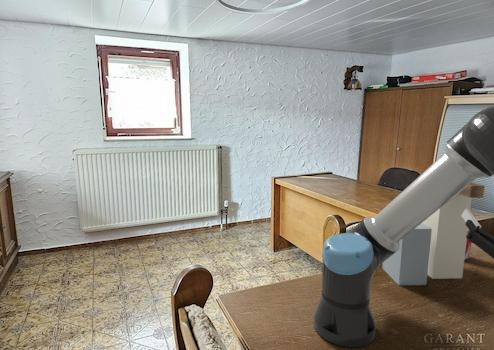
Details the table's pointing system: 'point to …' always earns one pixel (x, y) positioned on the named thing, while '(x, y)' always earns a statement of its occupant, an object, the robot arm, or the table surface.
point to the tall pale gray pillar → (411, 258)
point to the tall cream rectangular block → (448, 239)
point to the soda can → (467, 248)
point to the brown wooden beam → (473, 191)
